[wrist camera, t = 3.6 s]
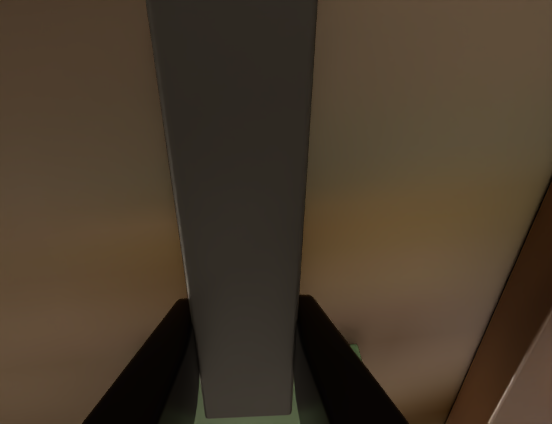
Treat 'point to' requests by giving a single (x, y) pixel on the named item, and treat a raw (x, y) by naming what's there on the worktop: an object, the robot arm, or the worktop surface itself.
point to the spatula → (239, 189)
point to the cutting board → (516, 342)
